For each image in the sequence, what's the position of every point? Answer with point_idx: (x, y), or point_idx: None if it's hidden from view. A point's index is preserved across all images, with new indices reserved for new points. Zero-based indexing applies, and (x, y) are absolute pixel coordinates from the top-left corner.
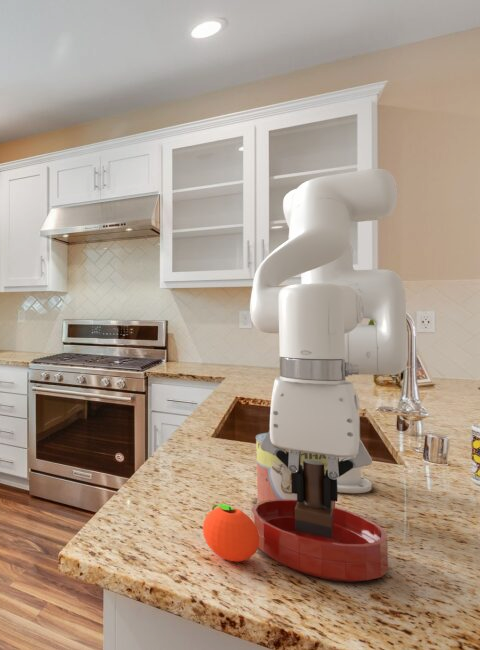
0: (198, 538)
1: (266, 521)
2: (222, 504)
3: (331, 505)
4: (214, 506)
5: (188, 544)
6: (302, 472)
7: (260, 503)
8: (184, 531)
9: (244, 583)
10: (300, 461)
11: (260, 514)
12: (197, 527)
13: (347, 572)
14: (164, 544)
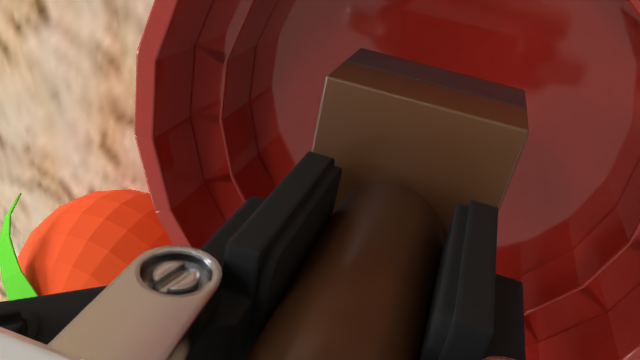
0: (62, 123)
1: (226, 59)
2: (19, 276)
3: (495, 196)
4: (5, 232)
5: (52, 181)
6: (251, 330)
7: (160, 24)
8: (12, 82)
9: None
10: (199, 315)
11: (190, 37)
12: (33, 21)
13: None
14: (3, 205)
